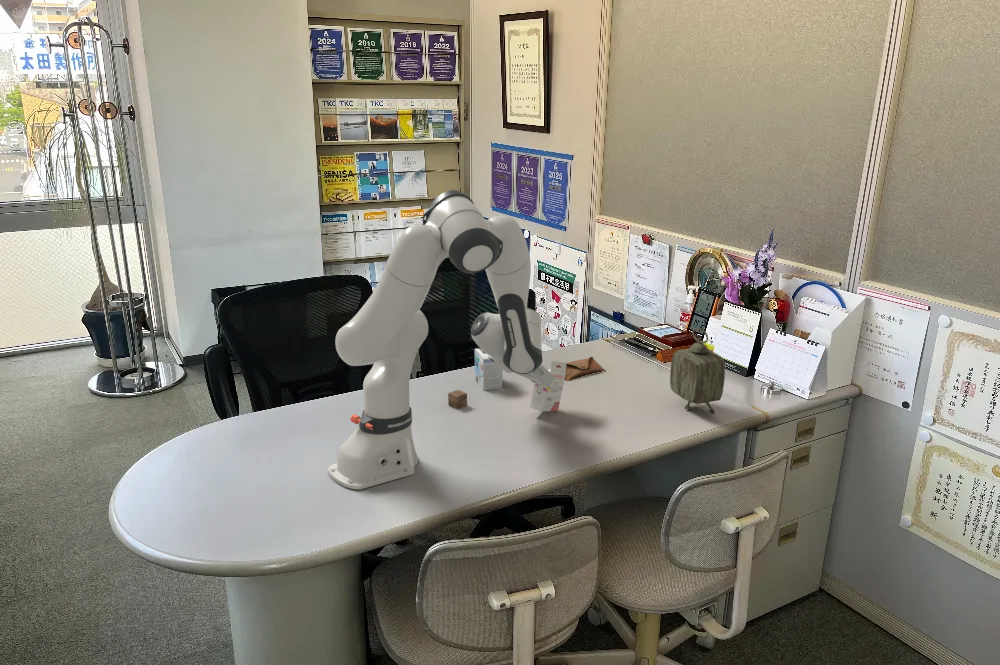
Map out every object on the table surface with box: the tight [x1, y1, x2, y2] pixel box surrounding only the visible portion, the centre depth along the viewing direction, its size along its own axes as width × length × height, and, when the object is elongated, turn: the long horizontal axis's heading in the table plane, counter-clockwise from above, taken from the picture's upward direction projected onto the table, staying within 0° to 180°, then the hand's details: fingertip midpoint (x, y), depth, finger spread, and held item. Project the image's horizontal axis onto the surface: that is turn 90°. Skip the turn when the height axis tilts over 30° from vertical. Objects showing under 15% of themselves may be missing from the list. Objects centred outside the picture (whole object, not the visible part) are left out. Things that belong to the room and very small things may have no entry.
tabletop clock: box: [669, 327, 726, 415], centre depth 211 cm, size 14×9×25 cm, turn 22°
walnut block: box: [447, 389, 468, 410], centre depth 216 cm, size 4×4×4 cm
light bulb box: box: [474, 347, 504, 391], centre depth 233 cm, size 11×7×11 cm, turn 17°
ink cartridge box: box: [529, 360, 567, 412], centre depth 211 cm, size 9×5×15 cm, turn 142°
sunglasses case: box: [556, 356, 606, 382], centre depth 244 cm, size 18×7×7 cm
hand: (538, 381), depth 207 cm, fingers closed
